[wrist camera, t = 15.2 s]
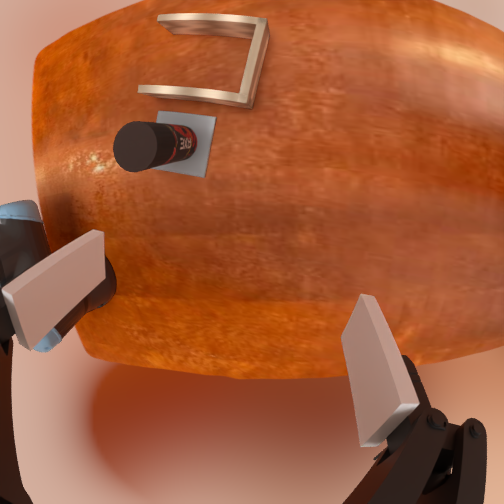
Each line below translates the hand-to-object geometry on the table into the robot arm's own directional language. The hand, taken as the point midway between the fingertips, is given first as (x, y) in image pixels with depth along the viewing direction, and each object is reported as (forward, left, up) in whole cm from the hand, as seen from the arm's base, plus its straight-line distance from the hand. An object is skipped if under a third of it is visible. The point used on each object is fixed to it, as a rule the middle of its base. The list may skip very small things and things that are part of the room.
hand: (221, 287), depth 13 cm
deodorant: (-15, +4, -32) cm, 36 cm away
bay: (-13, +18, -33) cm, 39 cm away
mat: (-15, +4, -33) cm, 36 cm away
